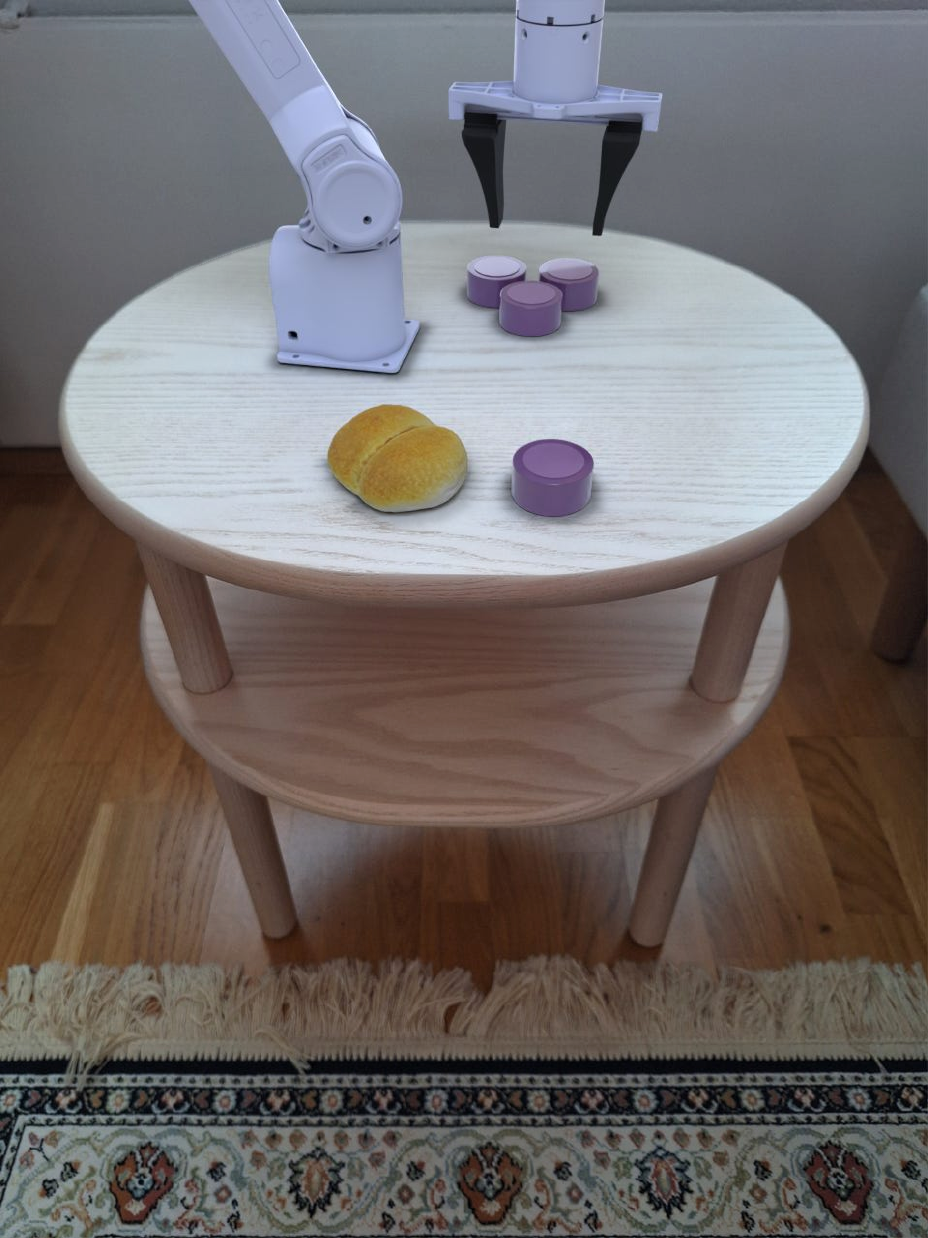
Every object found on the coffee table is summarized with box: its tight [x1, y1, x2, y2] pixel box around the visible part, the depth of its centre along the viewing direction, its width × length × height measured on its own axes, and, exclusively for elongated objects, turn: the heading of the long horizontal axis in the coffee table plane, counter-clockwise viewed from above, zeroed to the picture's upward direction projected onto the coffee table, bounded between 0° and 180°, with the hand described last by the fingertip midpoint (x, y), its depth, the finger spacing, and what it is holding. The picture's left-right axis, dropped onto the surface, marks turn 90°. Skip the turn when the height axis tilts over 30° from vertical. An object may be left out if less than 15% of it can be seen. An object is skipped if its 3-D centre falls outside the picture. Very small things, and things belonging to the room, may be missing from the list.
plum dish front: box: [510, 438, 595, 517], centre depth 59 cm, size 5×5×2 cm
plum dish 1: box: [498, 280, 563, 337], centre depth 76 cm, size 5×5×2 cm
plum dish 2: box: [537, 257, 600, 312], centre depth 79 cm, size 5×5×2 cm
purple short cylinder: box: [466, 254, 528, 309], centre depth 80 cm, size 5×5×2 cm
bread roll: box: [326, 404, 469, 513], centre depth 60 cm, size 8×9×4 cm
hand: (546, 226), depth 71 cm, fingers open, 7 cm apart
